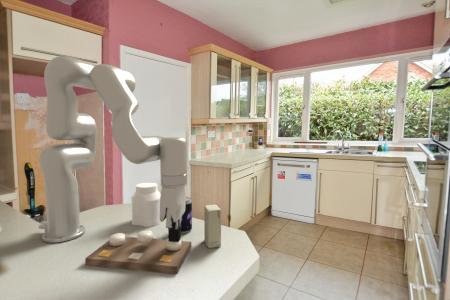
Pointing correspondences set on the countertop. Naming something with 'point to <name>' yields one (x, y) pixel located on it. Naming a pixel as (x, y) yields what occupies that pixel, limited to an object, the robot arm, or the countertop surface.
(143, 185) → the jar
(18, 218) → the countertop surface
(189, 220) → the beverage can
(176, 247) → the button right
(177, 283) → the countertop surface
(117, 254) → the button board
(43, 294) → the countertop surface
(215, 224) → the skincare box
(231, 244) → the countertop surface
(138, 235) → the button middle
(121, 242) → the button left
